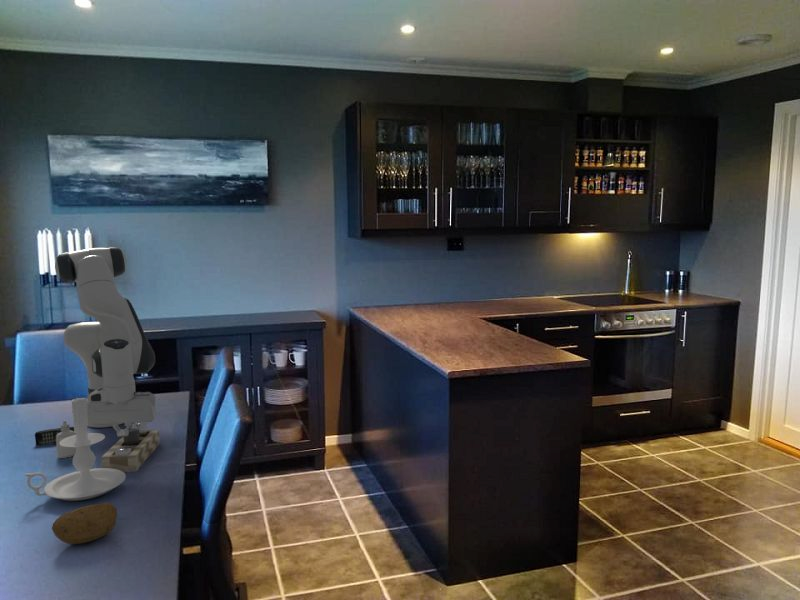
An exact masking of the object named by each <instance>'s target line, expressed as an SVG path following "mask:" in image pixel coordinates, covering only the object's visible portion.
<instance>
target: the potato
mask: <svg viewBox="0 0 800 600" xmlns="http://www.w3.org/2000/svg"><path fill="white" fill-rule="evenodd" d="M117 518H118V509H117V508H116V506H115V505H114V504H112V503H111V502H101V503H96V504H90V505H84V506H81V507H78V508H76V509H74V510H71V511H68V512H65V513H63V514H61V515H60V516H59V517H58V518H56V519H55V520H54V522H53V523H52V525H51V530H52V532H53V534H54V536H55V537H56V539H58V540H60V541H61V542H64V543H66V544H70V545H75V544H76V545H77V544H86V543H88V542H89V543H90V542H93V541H95V540H98V539H100V538H102V537H104V536H107V535H108V534H110V533H111V532H112V530H113V529H114V528H115V526H116V522H117V520H118V519H117Z"/></svg>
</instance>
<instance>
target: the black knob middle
mask: <svg viewBox="0 0 800 600" xmlns="http://www.w3.org/2000/svg"><path fill="white" fill-rule="evenodd" d="M128 432H129V434H128V436H124V446H135V445H138V444H139V429H135V428H134V429H132V428H129V429H128Z"/></svg>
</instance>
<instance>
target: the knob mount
mask: <svg viewBox="0 0 800 600" xmlns="http://www.w3.org/2000/svg"><path fill="white" fill-rule="evenodd" d="M159 432H160V430H159V429H154V430H153V429H151V430H149V429H147V436H146V437H139V444H138V445H135V446H129V447H131V453H130V454H129V455H115V449H116V448H119V447H124V436H121V438H120V439H118V441H116V442H115V443H114V444H113V445H112V446H111V448H109V449H108V450H107V451H106V452H105V453H104V454H103V455H102V456H101V459H100V460H101V468H112V469H117V470H120V471H122V472H124V473H130V472H129V471H137V472H138V470H139V469H140V468H141V467H142V466H143V465H144V464H145V462H146V461H147V460H148V458H149V457H150V456H151V455H152V454H153V453H154V451H155V450H156V449H157V448H158V447H159V445H160V433H159ZM151 453H152V454H151ZM150 454H151V455H150ZM146 459H147V460H146ZM145 460H146V461H145ZM144 461H145V462H144ZM141 465H142V466H141ZM140 466H141V467H140ZM139 467H140V468H139Z"/></svg>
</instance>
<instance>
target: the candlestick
mask: <svg viewBox="0 0 800 600" xmlns="http://www.w3.org/2000/svg"><path fill="white" fill-rule="evenodd" d="M71 411H72V412H71V414H72V418H73V427H74V433H76V435H73V436H70V437H67V438H65V439H63V440H61V441H60V443H59V444H60V445H61V446H64V447H75V448H76V453H75V455H74V456H72V465H73V467H74V468H75V469H76V470H77V471H73V472H70V473H66V474H63V475H61V476H59V477H56V478H55V479H54V478H53V480H51V481H49V482H47V476H46V474H45V473H42V472H40V471H39V472H37V471H36V472H33V473H29V472H28V473H24V476H25V477H27V481H26V482H27V486H28V488H30V489H31V490H33V491H34V492H35V495H37V496H47V497H50V498H53V499H58V500H63V501H74V502H75V501H83V500H90V499H94V498H96V497H100V496H102V495H105V494H107V493H109V492H110V491H112V490H113V489H114V488H116V487H119V485H121V484H123V483H124V482H125V480H126V472H122V471H120V470H117V469H112V468H102V467H98V468H97V467H96V468H95V467H94V464H95V461H96V455H95V453H94V452H93V450H92V449H91V446H92V445H95V444H97V443H100V442H102V441H103V440H104V439H105V438H106V436H105V434H103V433H99V432H88V426H87V422H88V415H87V397H79V398H78V397H76V398H73V399H72V400H71ZM93 467H94V468H93ZM36 476H40V477H42V479H43V482H42V483H41V484H40V485H36V486H35V485H32V483H31V479H33V478H34V477H36ZM46 483H47V484H46ZM42 488H43V492H39V490H41V489H42Z"/></svg>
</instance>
